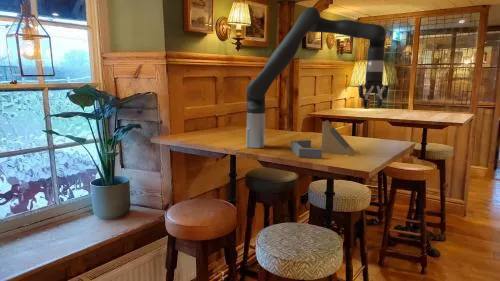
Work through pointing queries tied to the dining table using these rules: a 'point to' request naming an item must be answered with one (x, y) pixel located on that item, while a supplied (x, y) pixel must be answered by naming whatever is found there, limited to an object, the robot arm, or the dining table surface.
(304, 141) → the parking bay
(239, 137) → the dining table surface
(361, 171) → the dining table surface
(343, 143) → the sandwich container
